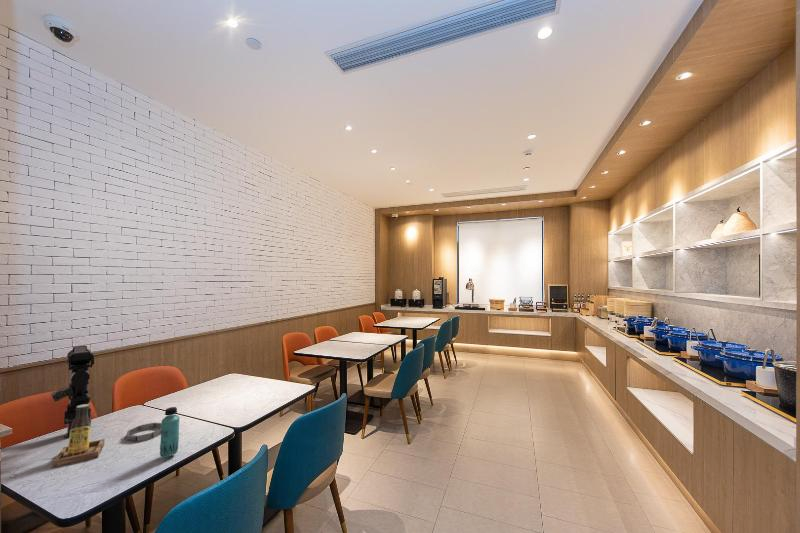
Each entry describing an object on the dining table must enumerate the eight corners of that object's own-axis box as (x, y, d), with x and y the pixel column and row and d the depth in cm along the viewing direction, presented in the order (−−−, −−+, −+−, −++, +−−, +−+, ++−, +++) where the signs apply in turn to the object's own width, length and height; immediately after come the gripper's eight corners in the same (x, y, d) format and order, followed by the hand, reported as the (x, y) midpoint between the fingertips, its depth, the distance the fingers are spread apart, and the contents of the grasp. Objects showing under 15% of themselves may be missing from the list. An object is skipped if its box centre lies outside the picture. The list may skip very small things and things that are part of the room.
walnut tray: (63, 453, 135) (63, 447, 135) (104, 444, 142) (104, 438, 142) (52, 468, 124) (53, 461, 124) (97, 457, 132) (98, 451, 132)
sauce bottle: (66, 459, 128) (68, 410, 130) (68, 453, 133) (71, 405, 134) (88, 454, 133) (91, 406, 134) (90, 448, 137) (92, 401, 138)
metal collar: (128, 432, 153) (128, 427, 154) (164, 425, 161) (164, 420, 162) (124, 445, 142) (124, 439, 142) (163, 436, 150) (163, 431, 150)
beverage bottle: (165, 452, 136) (167, 405, 137) (182, 452, 136) (183, 404, 137) (155, 461, 129) (157, 411, 130) (172, 460, 130) (174, 411, 131)
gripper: (52, 379, 144) (50, 414, 143) (53, 388, 132) (51, 427, 131) (87, 374, 152) (85, 407, 152) (91, 382, 140) (89, 418, 139)
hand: (77, 414), depth 143 cm, fingers open, 9 cm apart
